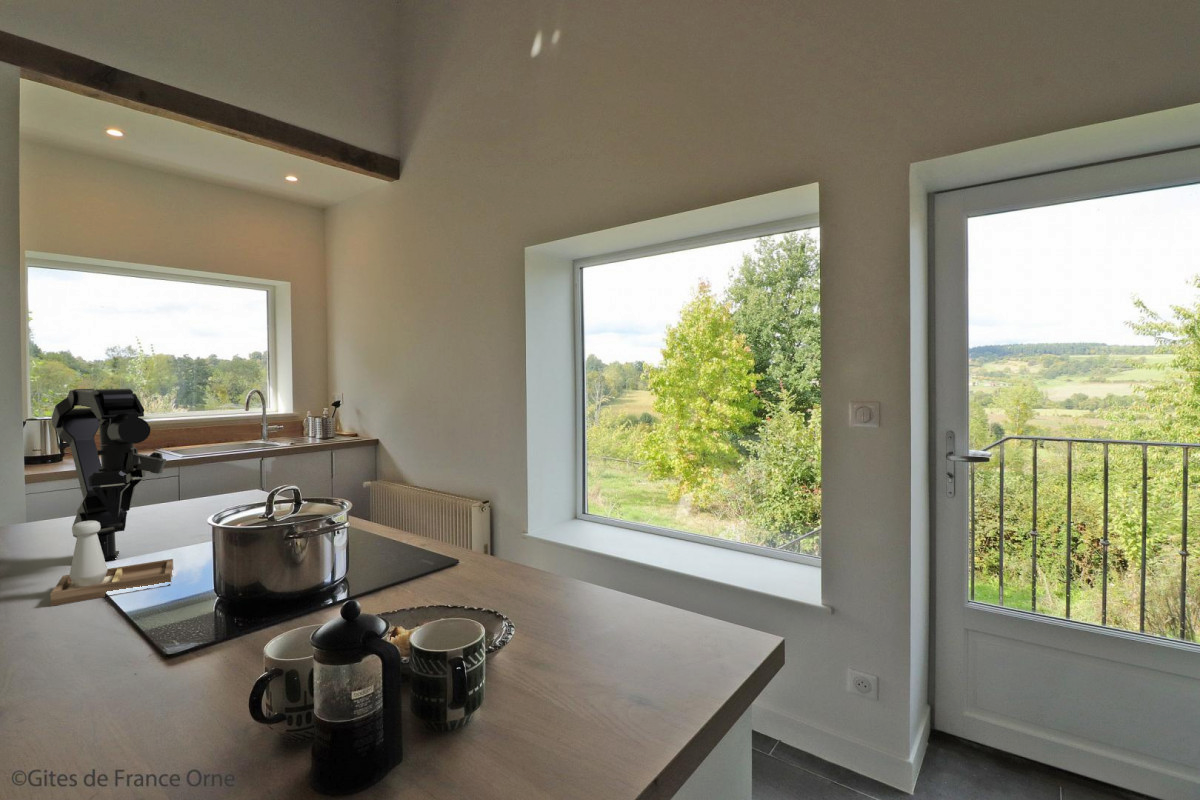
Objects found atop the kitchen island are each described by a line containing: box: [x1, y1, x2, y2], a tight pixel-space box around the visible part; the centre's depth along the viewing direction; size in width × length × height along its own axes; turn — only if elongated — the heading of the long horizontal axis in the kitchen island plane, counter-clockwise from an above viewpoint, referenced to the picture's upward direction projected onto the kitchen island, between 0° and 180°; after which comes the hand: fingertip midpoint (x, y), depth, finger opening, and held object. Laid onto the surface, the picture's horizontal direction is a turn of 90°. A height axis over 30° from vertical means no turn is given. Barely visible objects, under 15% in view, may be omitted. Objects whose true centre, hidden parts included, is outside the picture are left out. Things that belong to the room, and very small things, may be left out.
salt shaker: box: [68, 521, 109, 588], centre depth 116 cm, size 6×6×13 cm
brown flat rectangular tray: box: [50, 558, 174, 607], centre depth 119 cm, size 12×18×2 cm, turn 125°
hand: (121, 513), depth 128 cm, fingers open, 9 cm apart
